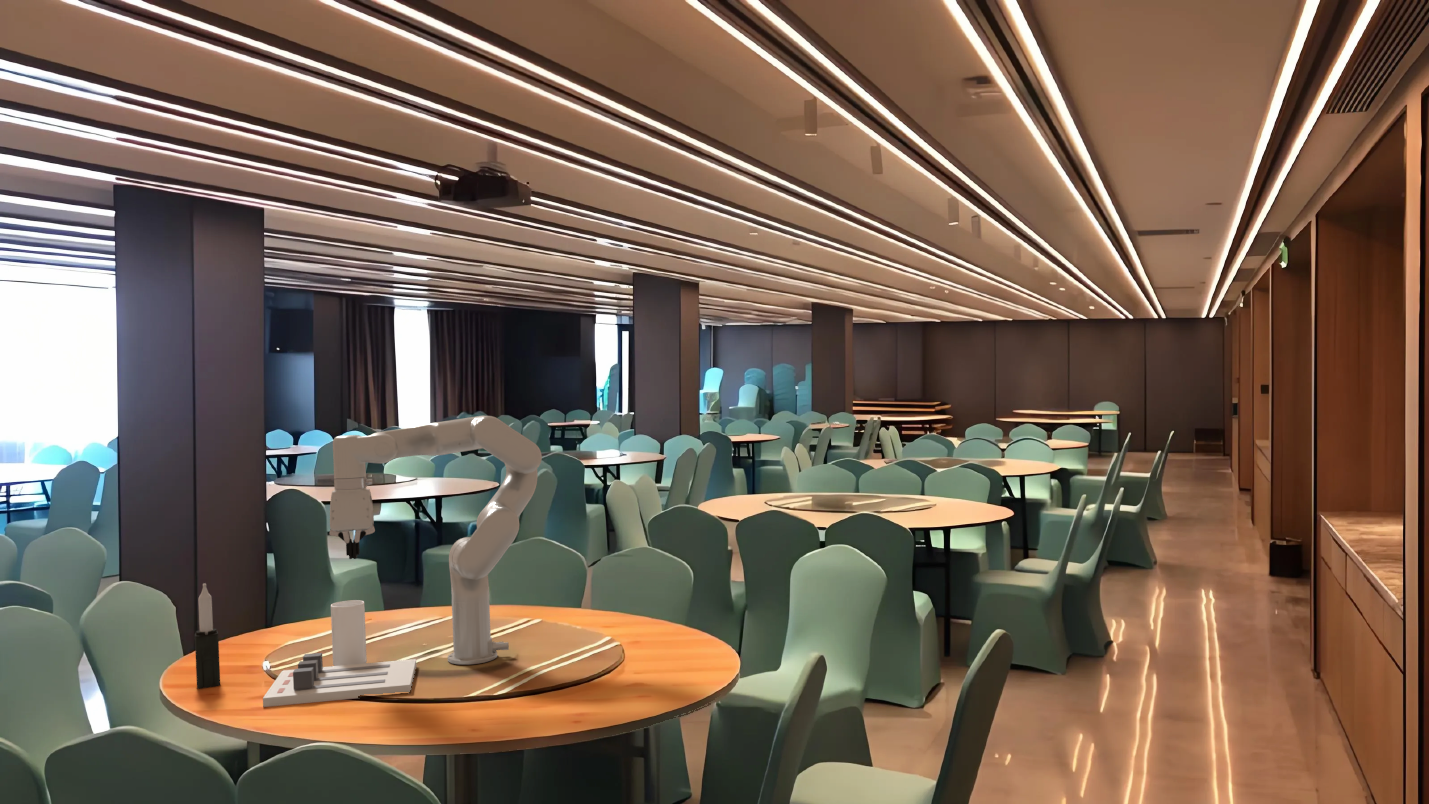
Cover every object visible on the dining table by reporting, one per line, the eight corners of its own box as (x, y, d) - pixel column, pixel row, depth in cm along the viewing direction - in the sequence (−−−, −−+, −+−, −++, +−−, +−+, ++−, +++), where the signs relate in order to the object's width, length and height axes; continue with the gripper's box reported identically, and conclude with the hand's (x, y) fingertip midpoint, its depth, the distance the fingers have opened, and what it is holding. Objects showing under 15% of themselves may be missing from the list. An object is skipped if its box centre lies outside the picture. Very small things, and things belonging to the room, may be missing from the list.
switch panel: (416, 666, 267) (415, 641, 267) (410, 693, 244) (409, 665, 243) (282, 678, 260) (281, 652, 260) (263, 706, 237) (262, 678, 236)
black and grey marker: (197, 689, 253) (192, 586, 252) (196, 684, 257) (192, 582, 257) (220, 685, 255) (216, 583, 255) (219, 681, 260) (215, 580, 259)
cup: (355, 669, 266) (353, 606, 266) (326, 668, 268) (324, 606, 268) (372, 661, 274) (370, 600, 274) (344, 660, 276) (341, 599, 276)
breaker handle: (318, 676, 252) (317, 659, 252) (316, 679, 249) (315, 663, 249) (300, 677, 251) (299, 661, 251) (298, 681, 248) (297, 664, 248)
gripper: (383, 481, 266) (385, 553, 267) (320, 485, 263) (323, 557, 263) (380, 484, 259) (383, 558, 259) (316, 487, 256) (319, 562, 256)
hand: (353, 557), depth 261 cm, fingers closed
